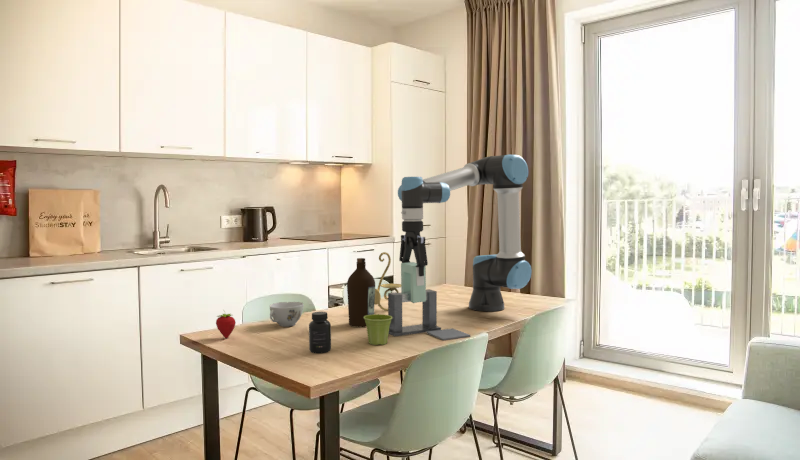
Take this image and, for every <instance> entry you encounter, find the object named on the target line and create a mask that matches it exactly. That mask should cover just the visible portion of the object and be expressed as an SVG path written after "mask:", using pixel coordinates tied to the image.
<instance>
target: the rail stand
mask: <svg viewBox="0 0 800 460" xmlns="http://www.w3.org/2000/svg"><path fill="white" fill-rule="evenodd" d="M387 298H388V300H387V305H388V306H387V309H388V311H387V313H388V314H387V315H389V316H392V319H391V323H390V326H389V333H388V335H391V336H392V337H401V336H409V335H416V334H423V333H424V334H425V333H426V332H429V331H436V330H442V327H440V326H438V325H437V321H438V320H437V319H438V318H437V317H438V316H437V311H438V310H437V308H438V307H437V302H438V301H437V298H438V297H437V291H436V290H434V289H426V302H421V304H422V310H421V311H422V319H421V320H422V321H421V324H414V325H413V324H412V325H403V303H412V302H411V292H399V293H397V292H396V291H395V292H392V293H391V292H387Z"/></svg>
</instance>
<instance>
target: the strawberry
mask: <svg viewBox="0 0 800 460" xmlns="http://www.w3.org/2000/svg"><path fill="white" fill-rule="evenodd" d="M223 312H224V313H222V314H219V315H217V316H216V317H217V319H216V320H215V324H216V328H217V330H218V331H219V333H220V334H221V335H222V336H223V338H224V339H228V338H229V337H230V335H232V333H233V331H234V329H235V327H236V319H235V318H234V317H233V316H232V314H231V313H226V311H225V310H223Z"/></svg>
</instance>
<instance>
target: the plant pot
mask: <svg viewBox="0 0 800 460" xmlns="http://www.w3.org/2000/svg"><path fill="white" fill-rule="evenodd" d="M364 319H365V323H366V327H365V328H366V331H367V332H366V333H367V339H368V343H369V344H370V345H372V346H378V345H386V344H387V343H388V339H389V334H388V333H389V326H390V323H391V319H392V316H389V315H388V314H381V313H380V314H377V313H376V314H375V313H374V314H373V315H366V316H364Z"/></svg>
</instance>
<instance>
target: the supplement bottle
mask: <svg viewBox="0 0 800 460" xmlns="http://www.w3.org/2000/svg"><path fill="white" fill-rule="evenodd" d="M328 318H329V317H328V312H327V311H314V312H311V320H312V321H310V322H309V324H308V347H309V352H310V353H312V354H318V355H319V354H325V353H329V352H330V351H332V350H331V349H332V327H331V326H332V325H331V321H329V320H328Z"/></svg>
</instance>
